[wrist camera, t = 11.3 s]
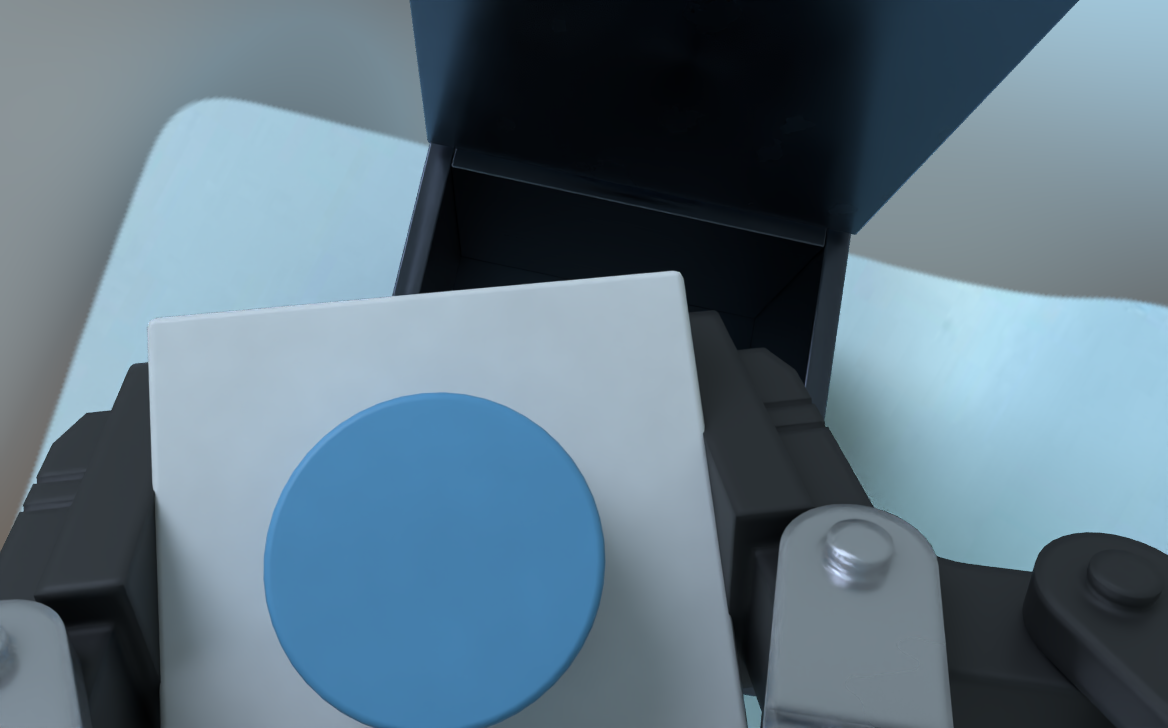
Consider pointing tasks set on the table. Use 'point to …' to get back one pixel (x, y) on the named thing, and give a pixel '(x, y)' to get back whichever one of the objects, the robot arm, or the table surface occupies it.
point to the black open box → (628, 251)
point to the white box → (439, 513)
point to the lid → (722, 91)
